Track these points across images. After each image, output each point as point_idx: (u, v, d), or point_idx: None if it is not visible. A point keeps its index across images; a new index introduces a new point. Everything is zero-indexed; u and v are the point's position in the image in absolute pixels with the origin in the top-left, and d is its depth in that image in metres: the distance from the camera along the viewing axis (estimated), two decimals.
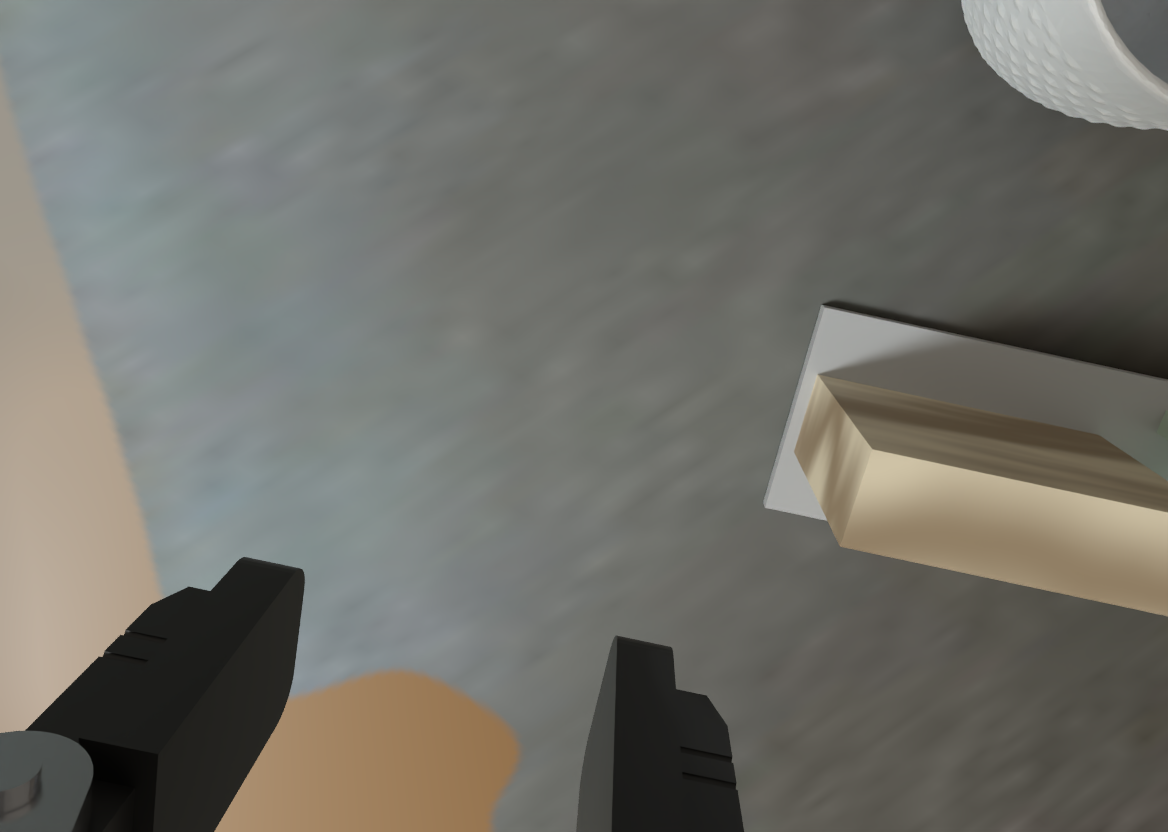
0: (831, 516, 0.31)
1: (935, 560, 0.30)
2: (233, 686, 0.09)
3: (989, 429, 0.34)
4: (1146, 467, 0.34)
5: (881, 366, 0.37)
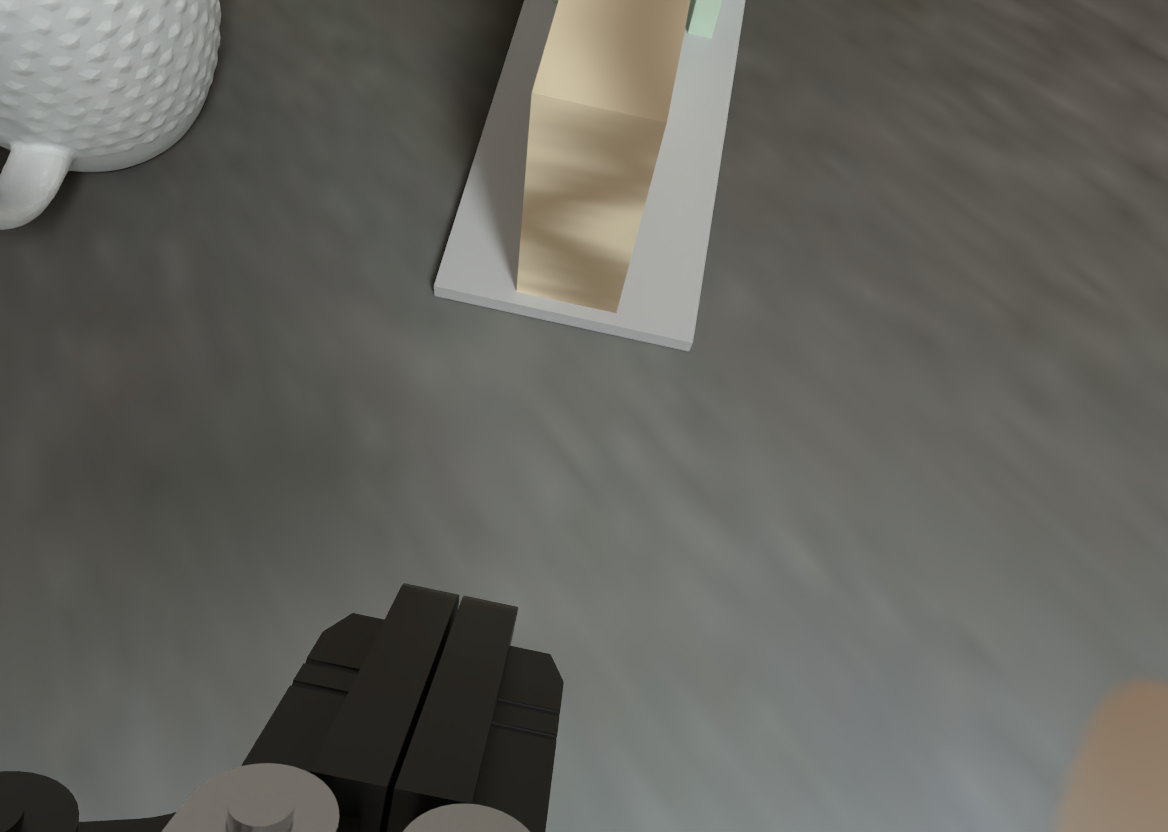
0: (643, 167, 0.24)
1: (675, 34, 0.24)
2: (420, 714, 0.09)
3: None
4: None
5: (507, 229, 0.32)
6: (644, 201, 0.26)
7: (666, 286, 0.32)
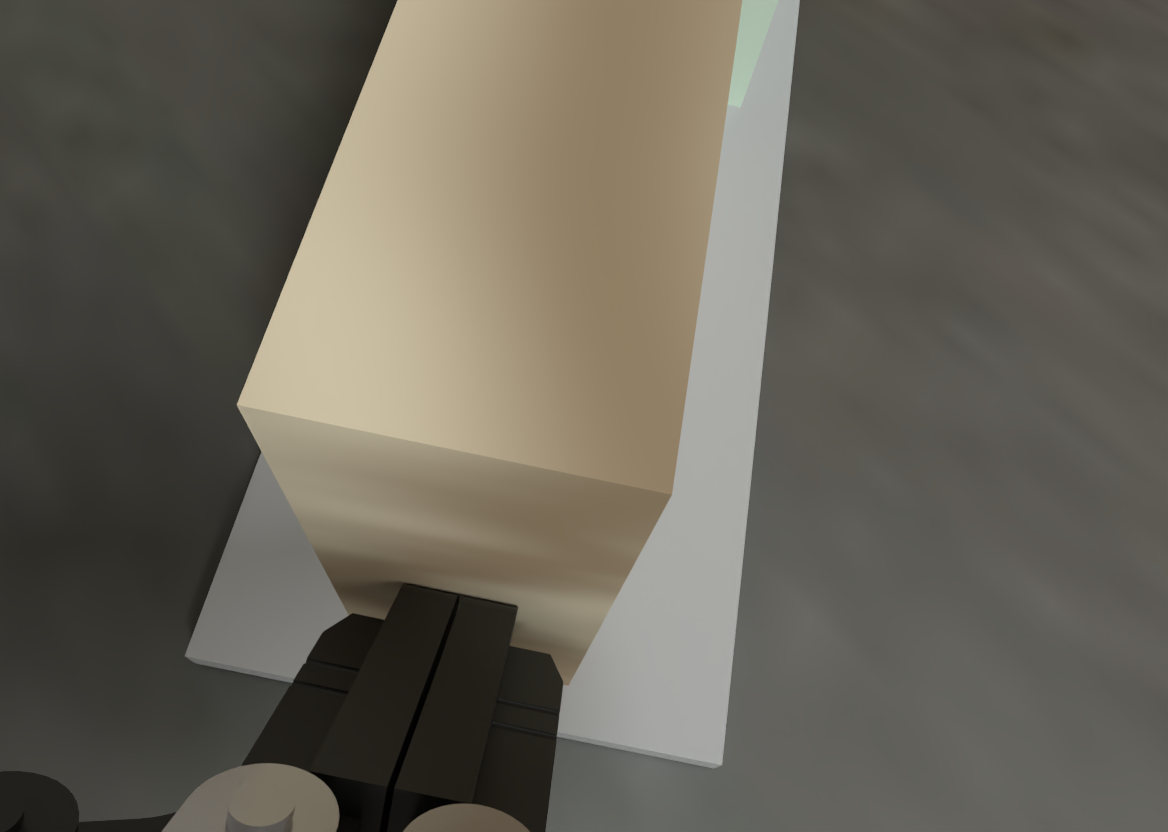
0: (607, 553, 0.09)
1: (693, 184, 0.09)
2: (421, 714, 0.09)
3: None
4: None
5: None
6: (613, 594, 0.10)
7: (667, 628, 0.16)
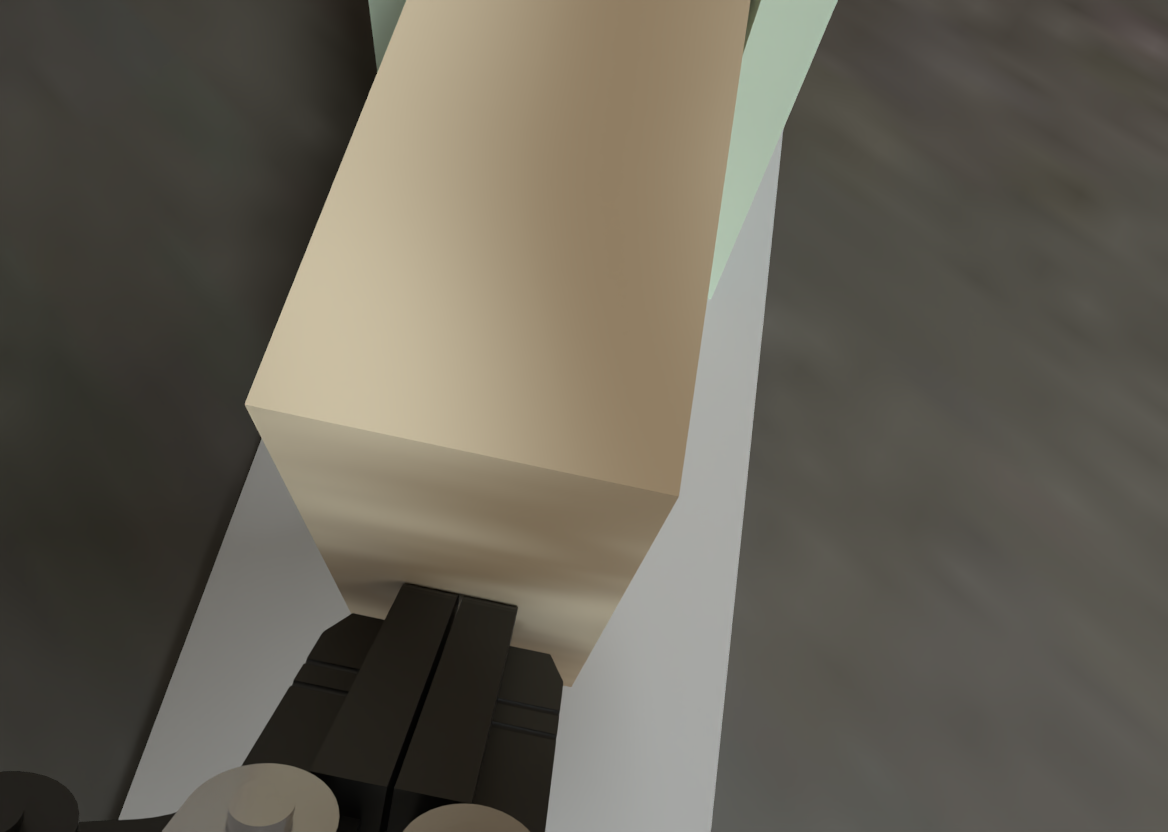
0: (613, 555, 0.09)
1: (700, 185, 0.09)
2: (420, 715, 0.09)
3: None
4: None
5: None
6: (618, 596, 0.10)
7: None
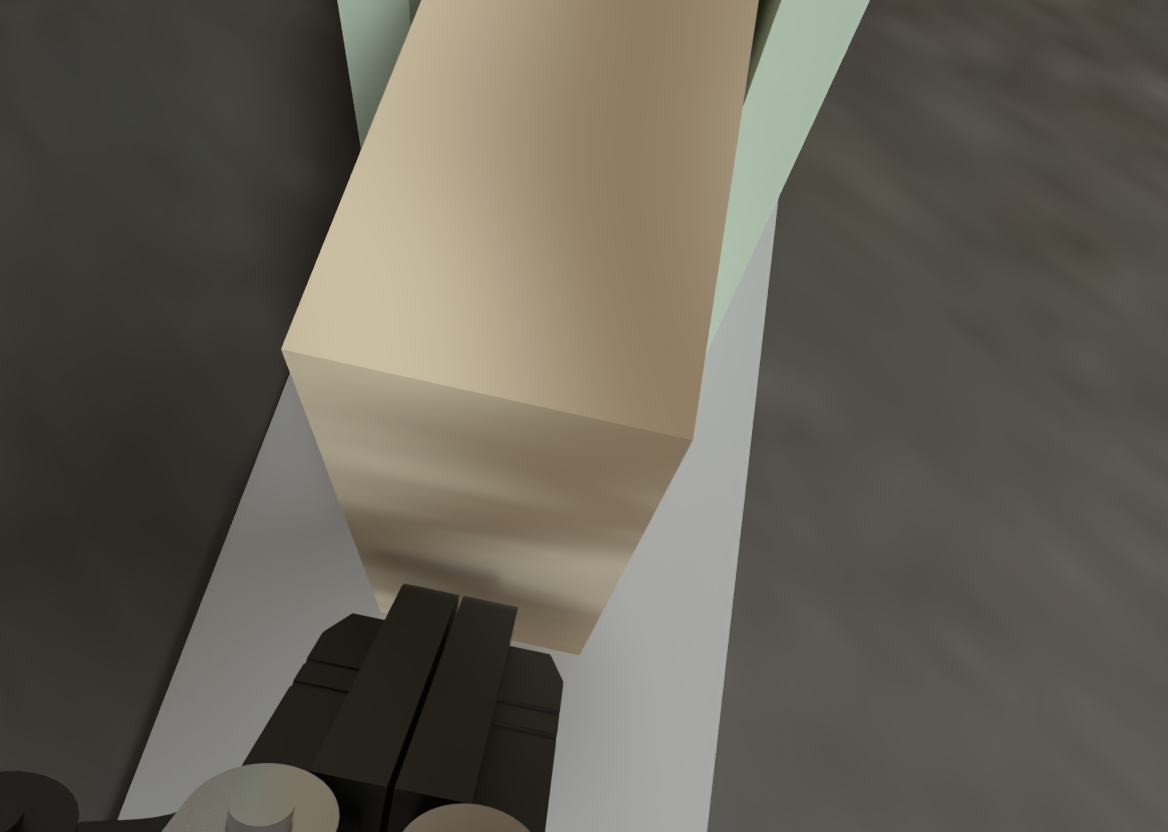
0: (627, 505, 0.09)
1: (713, 152, 0.09)
2: (419, 715, 0.09)
3: None
4: None
5: None
6: (630, 551, 0.10)
7: None
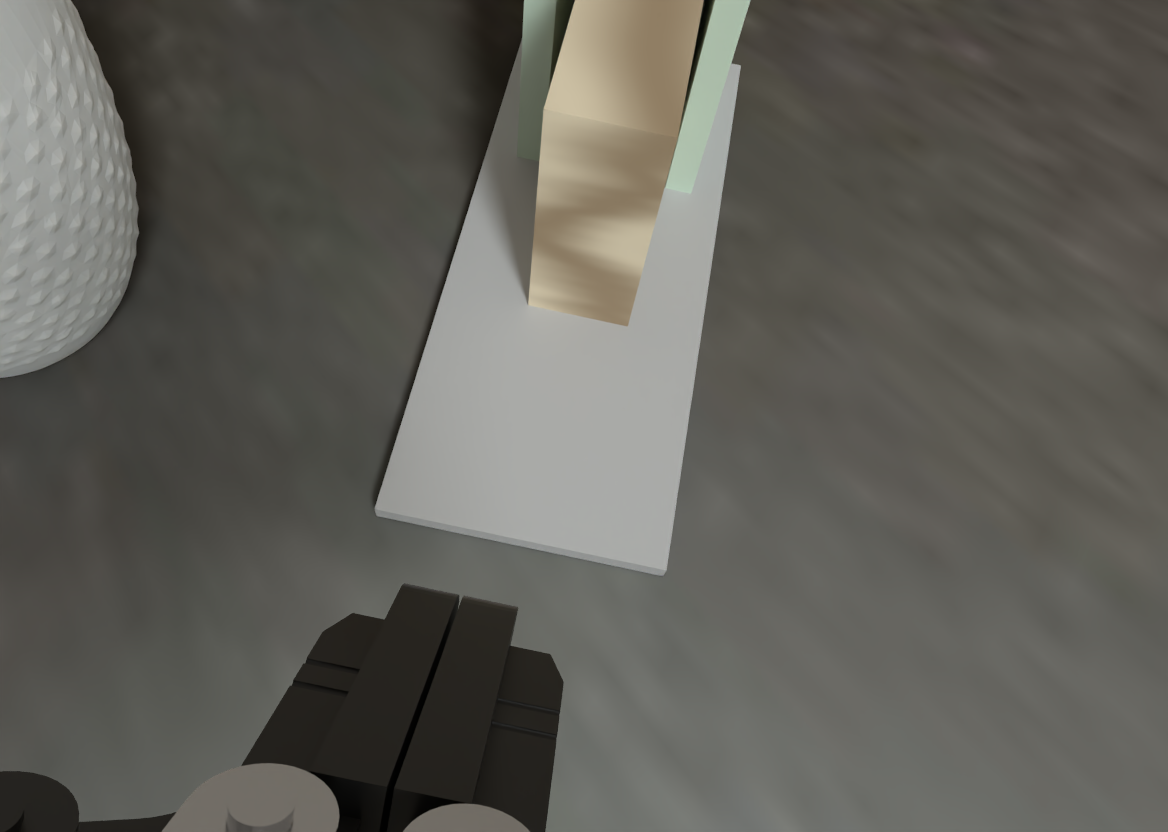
0: (654, 182, 0.25)
1: (685, 50, 0.24)
2: (420, 714, 0.09)
3: None
4: None
5: (459, 435, 0.29)
6: (655, 215, 0.26)
7: (637, 499, 0.28)
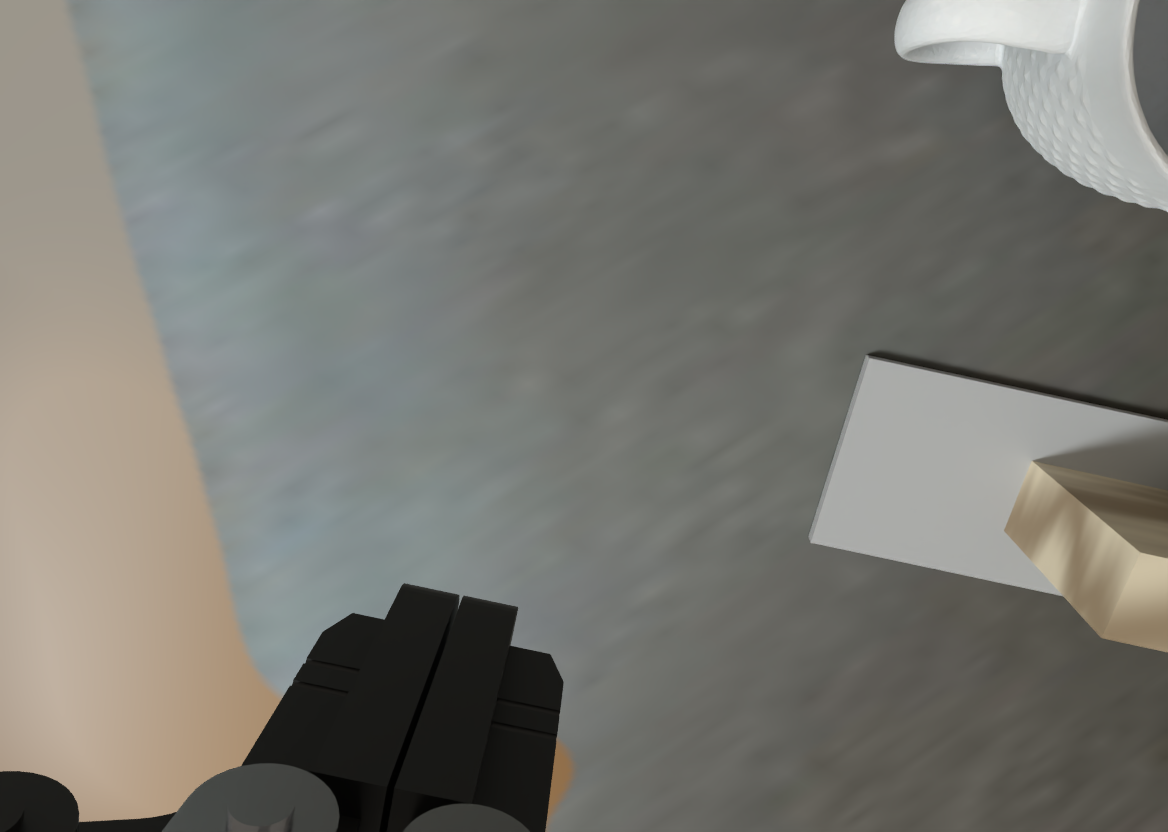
0: (1081, 606, 0.34)
1: None
2: (420, 714, 0.09)
3: None
4: None
5: (922, 413, 0.40)
6: (1063, 594, 0.35)
7: (862, 528, 0.41)
